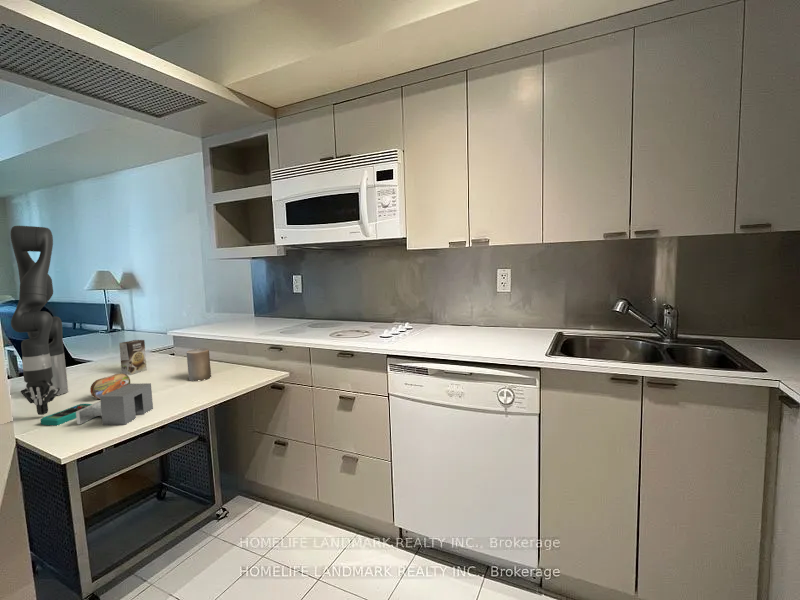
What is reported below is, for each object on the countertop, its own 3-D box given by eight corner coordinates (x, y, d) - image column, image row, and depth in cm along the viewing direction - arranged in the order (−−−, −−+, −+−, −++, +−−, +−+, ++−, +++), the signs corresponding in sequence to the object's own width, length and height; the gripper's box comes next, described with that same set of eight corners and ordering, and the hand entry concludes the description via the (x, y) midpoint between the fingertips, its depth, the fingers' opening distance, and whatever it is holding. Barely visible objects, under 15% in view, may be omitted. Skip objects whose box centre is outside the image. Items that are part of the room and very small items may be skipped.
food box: (131, 375, 192) (128, 343, 190) (121, 374, 193) (118, 342, 192) (147, 370, 200) (145, 339, 199) (138, 369, 202) (135, 339, 201)
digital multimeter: (98, 410, 145) (97, 403, 145) (57, 427, 131) (56, 419, 130) (82, 409, 147) (81, 402, 146) (39, 426, 132) (38, 417, 132)
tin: (95, 402, 154) (93, 381, 153) (89, 401, 155) (87, 381, 154) (131, 390, 168) (130, 371, 167) (126, 389, 169) (124, 370, 168)
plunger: (77, 424, 131) (75, 411, 131) (123, 402, 152) (122, 391, 152) (113, 423, 131) (112, 411, 130) (154, 401, 152) (153, 391, 151)
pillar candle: (215, 376, 187) (213, 345, 186) (200, 382, 177) (198, 350, 176) (199, 375, 189) (196, 345, 188) (183, 381, 180) (180, 349, 179)
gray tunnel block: (102, 424, 131) (99, 396, 130) (132, 409, 145) (130, 383, 144) (125, 424, 131) (122, 396, 130) (153, 409, 144) (150, 383, 144)
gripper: (64, 364, 140) (69, 410, 142) (30, 364, 141) (35, 410, 143) (45, 369, 133) (50, 418, 135) (8, 370, 133) (14, 418, 135)
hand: (42, 413), depth 139 cm, fingers closed
